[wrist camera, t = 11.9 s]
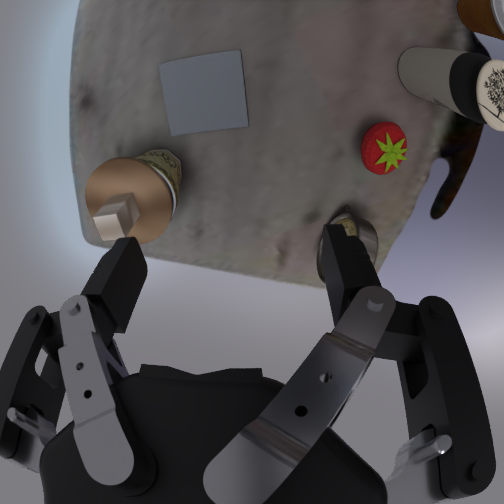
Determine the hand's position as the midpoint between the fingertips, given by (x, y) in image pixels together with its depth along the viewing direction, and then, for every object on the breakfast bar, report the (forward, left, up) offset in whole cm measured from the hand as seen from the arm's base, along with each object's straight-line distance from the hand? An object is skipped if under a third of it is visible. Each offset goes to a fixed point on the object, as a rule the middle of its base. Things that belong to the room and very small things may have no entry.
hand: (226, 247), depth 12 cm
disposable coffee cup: (-20, +36, -30) cm, 51 cm away
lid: (+7, -16, -20) cm, 27 cm away
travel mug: (-7, +25, -30) cm, 40 cm away
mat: (-3, -6, -30) cm, 31 cm away
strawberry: (+4, +17, -30) cm, 35 cm away
